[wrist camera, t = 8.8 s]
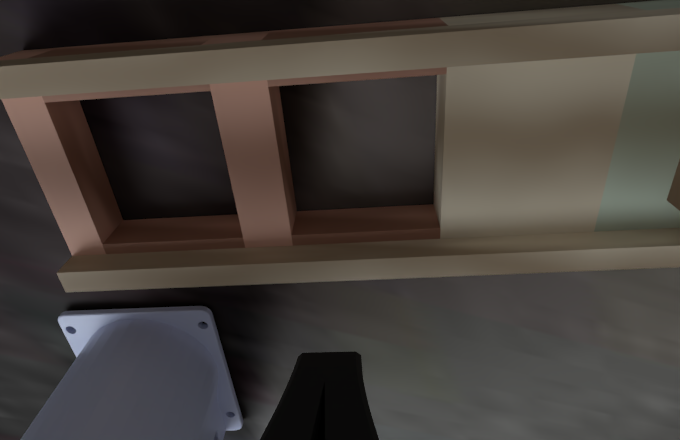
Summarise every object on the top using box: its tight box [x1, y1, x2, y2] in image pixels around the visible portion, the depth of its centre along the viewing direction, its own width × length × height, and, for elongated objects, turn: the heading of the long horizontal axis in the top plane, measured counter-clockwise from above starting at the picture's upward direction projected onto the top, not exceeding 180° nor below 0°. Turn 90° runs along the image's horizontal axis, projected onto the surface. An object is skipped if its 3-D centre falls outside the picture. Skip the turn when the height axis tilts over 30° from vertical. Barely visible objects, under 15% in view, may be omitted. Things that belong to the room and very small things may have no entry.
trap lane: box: [0, 0, 680, 292], centre depth 17 cm, size 9×30×4 cm, turn 94°
